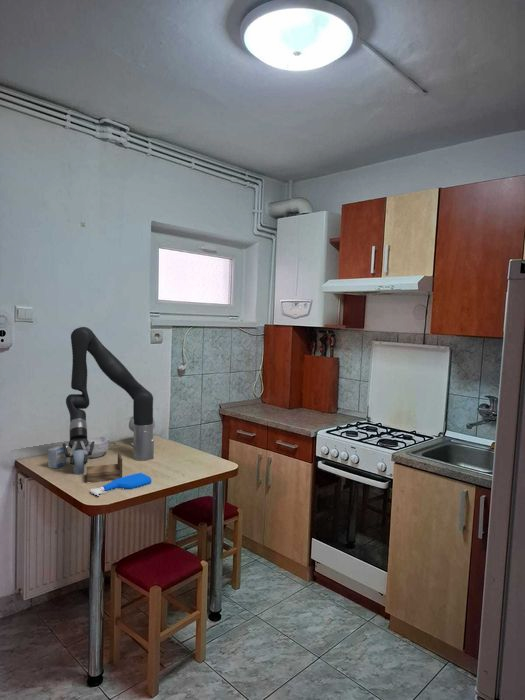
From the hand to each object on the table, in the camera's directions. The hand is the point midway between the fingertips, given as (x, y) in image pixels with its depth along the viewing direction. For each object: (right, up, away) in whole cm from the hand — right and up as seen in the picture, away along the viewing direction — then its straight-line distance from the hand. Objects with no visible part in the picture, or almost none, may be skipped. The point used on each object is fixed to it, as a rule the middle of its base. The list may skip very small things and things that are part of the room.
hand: (79, 463), depth 209 cm
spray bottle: (+23, -7, -14) cm, 28 cm away
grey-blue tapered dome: (-1, -4, +2) cm, 5 cm away
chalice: (+15, -2, +52) cm, 54 cm away
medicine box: (-14, -4, +12) cm, 19 cm away
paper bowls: (-4, -3, +29) cm, 29 cm away
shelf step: (+12, -5, -3) cm, 14 cm away
